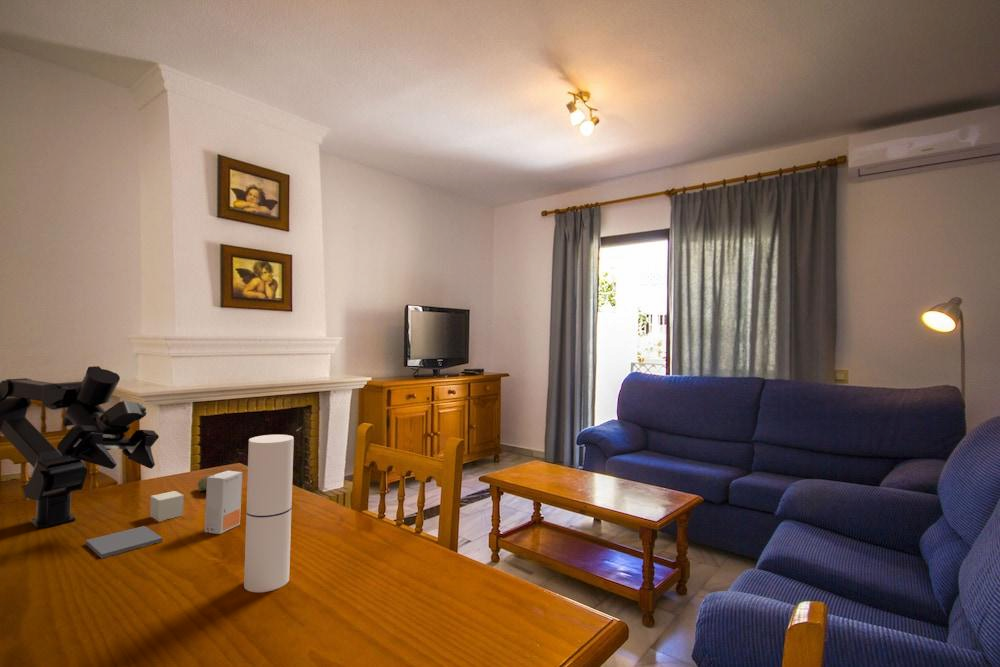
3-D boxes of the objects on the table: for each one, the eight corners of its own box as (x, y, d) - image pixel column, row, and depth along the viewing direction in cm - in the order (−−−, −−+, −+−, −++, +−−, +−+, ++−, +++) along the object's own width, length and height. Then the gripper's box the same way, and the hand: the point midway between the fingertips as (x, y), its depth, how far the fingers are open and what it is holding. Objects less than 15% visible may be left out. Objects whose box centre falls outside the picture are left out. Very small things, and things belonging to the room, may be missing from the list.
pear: (214, 476, 129) (191, 477, 133) (216, 496, 128) (192, 496, 133) (234, 471, 134) (211, 472, 138) (235, 490, 133) (212, 491, 138)
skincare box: (220, 535, 105) (222, 478, 105) (203, 532, 106) (205, 477, 106) (241, 524, 111) (243, 471, 111) (224, 522, 112) (226, 470, 112)
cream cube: (150, 517, 114) (150, 495, 114) (174, 511, 118) (175, 490, 118) (158, 522, 111) (159, 500, 111) (183, 516, 115) (183, 495, 115)
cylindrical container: (244, 596, 81) (248, 444, 81) (244, 576, 87) (248, 436, 88) (290, 586, 84) (295, 441, 85) (287, 569, 91) (291, 433, 91)
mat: (85, 544, 99) (86, 540, 99) (144, 529, 107) (144, 525, 107) (101, 558, 93) (101, 554, 93) (162, 541, 101) (162, 537, 101)
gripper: (76, 385, 98) (120, 432, 94) (154, 397, 116) (194, 437, 112) (37, 430, 97) (80, 480, 93) (121, 435, 115) (161, 477, 111)
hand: (134, 466), depth 102 cm, fingers open, 9 cm apart
